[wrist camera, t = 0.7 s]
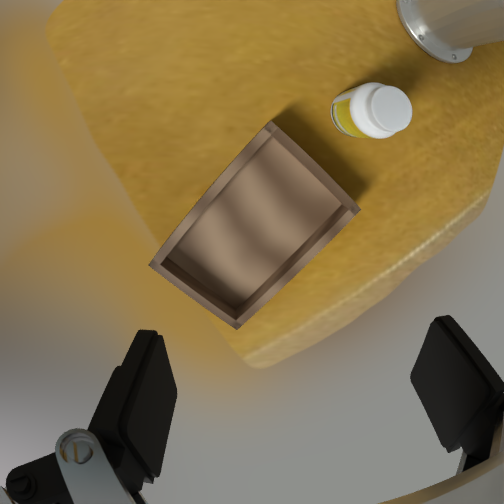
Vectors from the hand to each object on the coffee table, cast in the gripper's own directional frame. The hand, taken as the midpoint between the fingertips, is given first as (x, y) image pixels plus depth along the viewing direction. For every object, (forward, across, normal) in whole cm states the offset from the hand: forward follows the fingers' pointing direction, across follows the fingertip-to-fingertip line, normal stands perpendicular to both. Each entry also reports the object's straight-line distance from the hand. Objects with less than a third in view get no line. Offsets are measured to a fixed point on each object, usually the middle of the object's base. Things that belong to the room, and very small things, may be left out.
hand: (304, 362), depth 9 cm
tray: (+25, +2, +4) cm, 25 cm away
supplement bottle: (+25, -10, -10) cm, 29 cm away
